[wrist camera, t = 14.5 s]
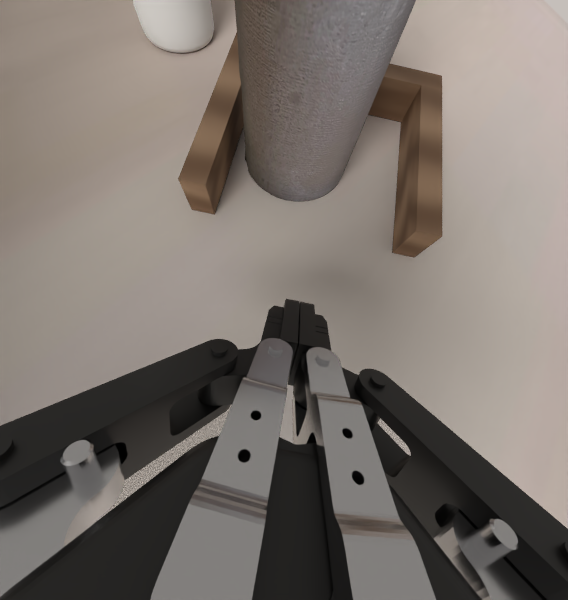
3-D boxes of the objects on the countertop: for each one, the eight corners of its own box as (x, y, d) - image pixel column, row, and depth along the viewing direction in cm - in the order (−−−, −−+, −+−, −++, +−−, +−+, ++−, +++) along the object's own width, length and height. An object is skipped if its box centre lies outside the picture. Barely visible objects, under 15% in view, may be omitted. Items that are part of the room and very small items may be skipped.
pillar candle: (224, 155, 23) (159, -204, 8) (295, 107, 25) (339, -237, 11) (297, 222, 22) (367, -67, 7) (364, 165, 24) (517, -137, 10)
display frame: (414, 257, 21) (442, 236, 18) (191, 209, 21) (178, 178, 18) (419, 112, 27) (441, 75, 23) (241, 72, 26) (238, 28, 23)
